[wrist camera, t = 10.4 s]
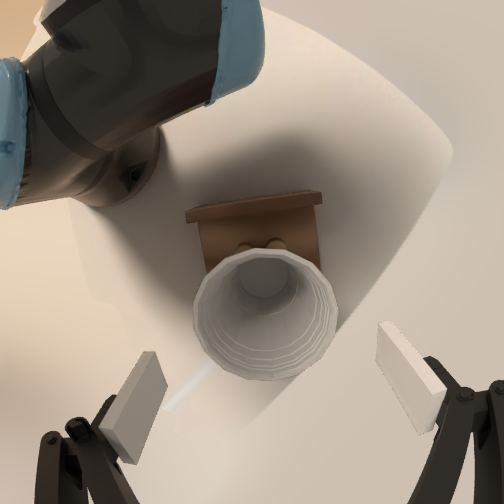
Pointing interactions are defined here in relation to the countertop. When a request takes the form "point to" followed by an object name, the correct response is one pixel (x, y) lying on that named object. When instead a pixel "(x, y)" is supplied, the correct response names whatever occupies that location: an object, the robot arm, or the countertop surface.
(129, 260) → the countertop surface
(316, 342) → the plastic cup
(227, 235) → the peg board
